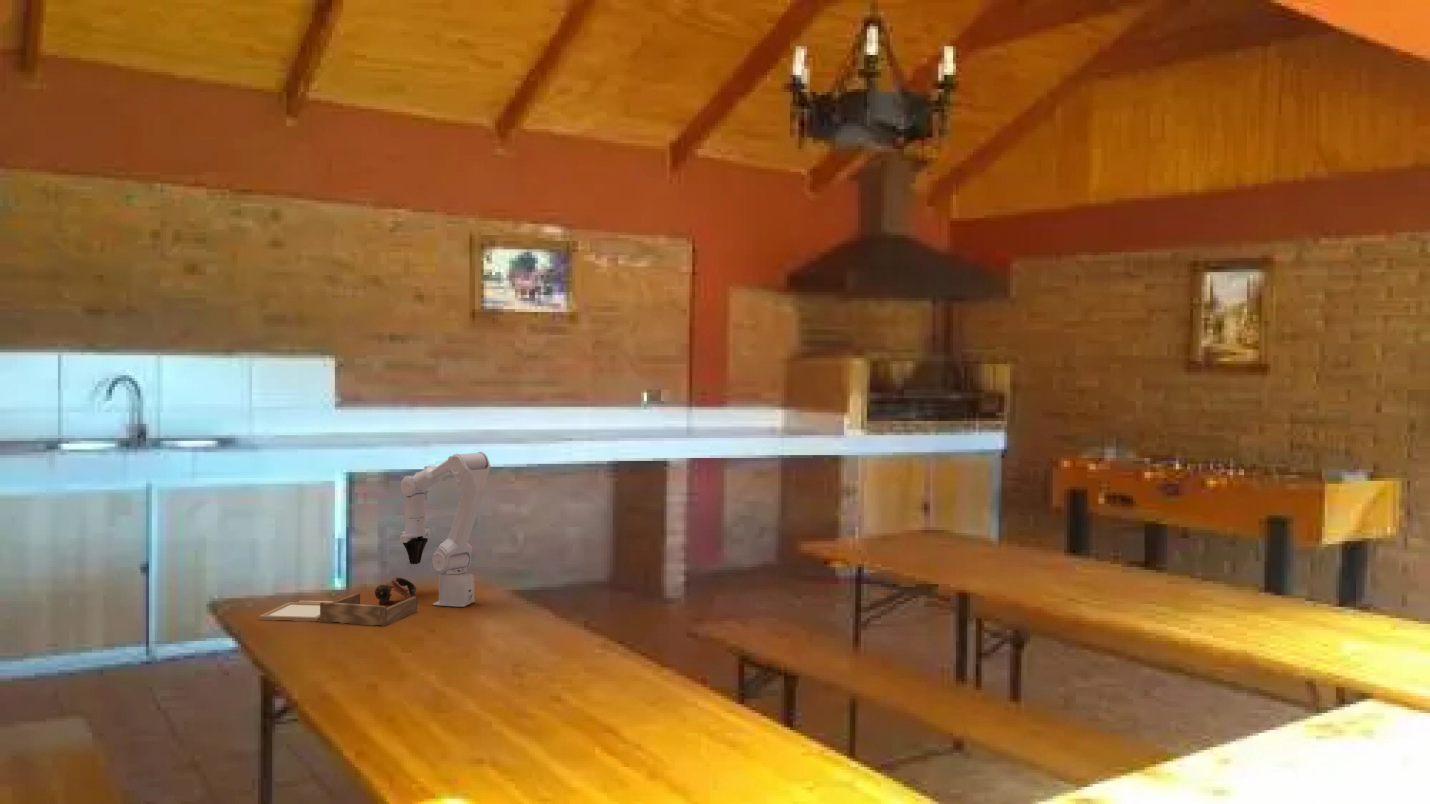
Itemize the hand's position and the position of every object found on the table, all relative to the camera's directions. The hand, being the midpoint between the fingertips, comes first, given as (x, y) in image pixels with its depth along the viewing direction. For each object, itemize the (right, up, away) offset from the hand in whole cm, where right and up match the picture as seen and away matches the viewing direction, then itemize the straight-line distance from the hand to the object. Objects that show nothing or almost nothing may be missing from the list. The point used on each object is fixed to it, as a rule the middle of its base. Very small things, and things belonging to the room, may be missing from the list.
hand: (415, 563), depth 327 cm
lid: (-24, -10, -23) cm, 34 cm away
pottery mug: (-3, -10, -11) cm, 15 cm away
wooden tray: (-5, -10, -26) cm, 29 cm away
